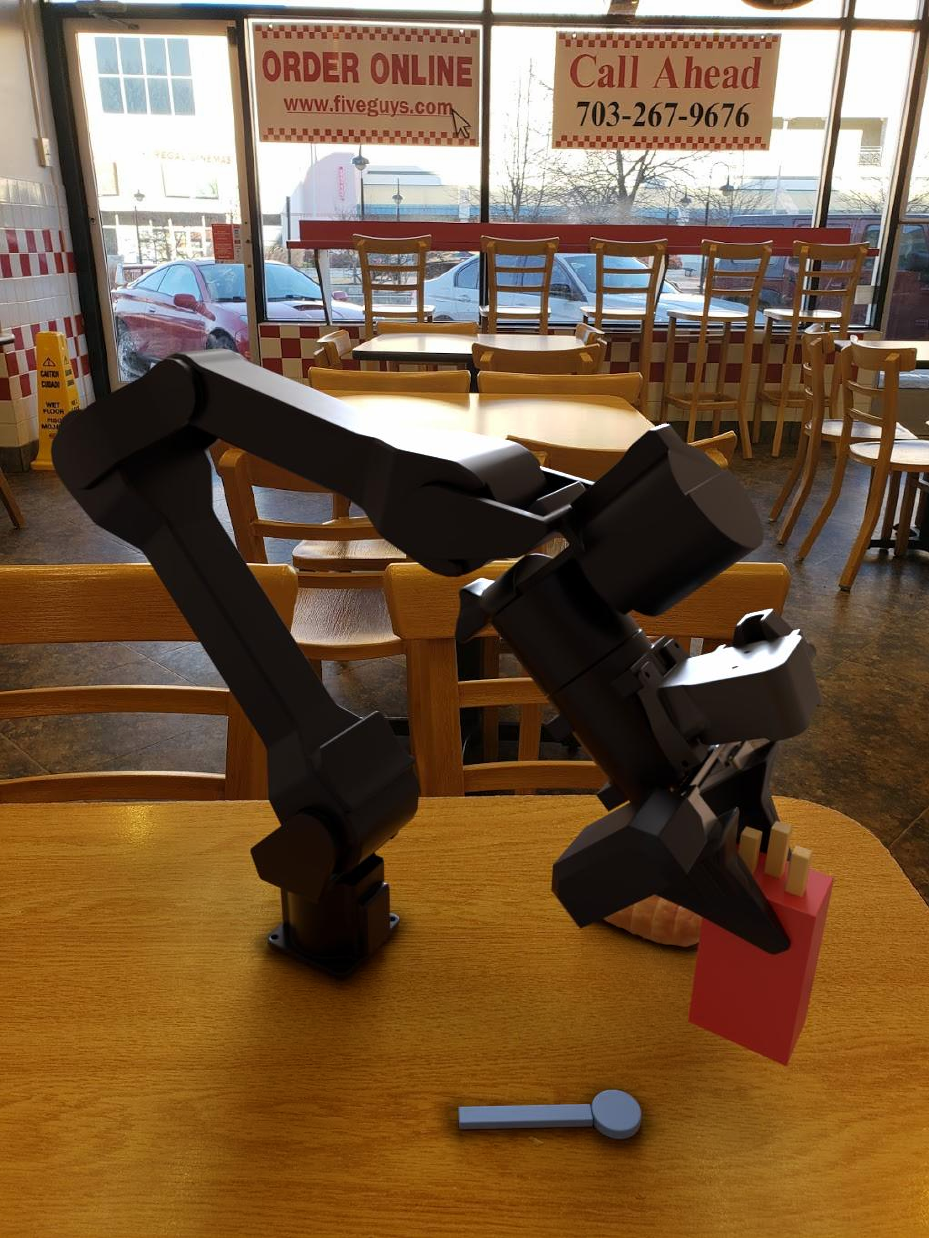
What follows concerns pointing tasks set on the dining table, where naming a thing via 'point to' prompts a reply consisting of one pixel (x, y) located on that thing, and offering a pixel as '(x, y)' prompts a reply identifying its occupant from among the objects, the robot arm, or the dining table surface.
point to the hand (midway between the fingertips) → (792, 927)
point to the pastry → (659, 921)
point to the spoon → (561, 1115)
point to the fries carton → (764, 954)
